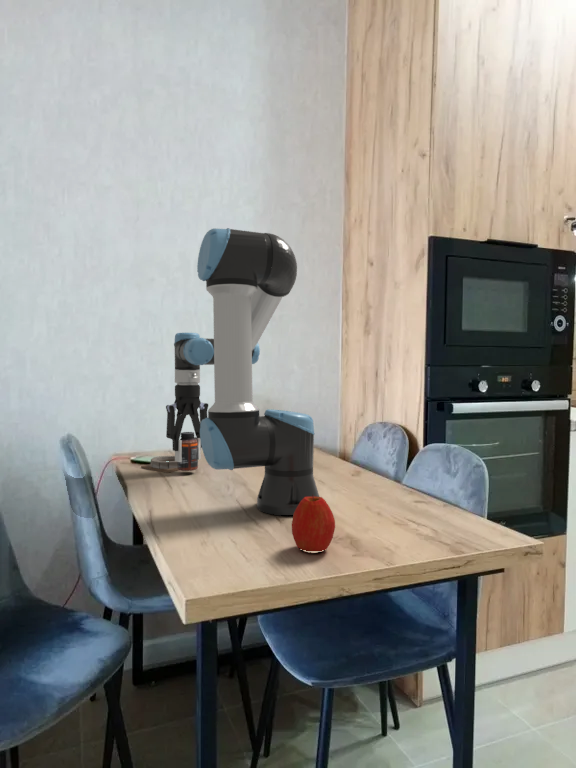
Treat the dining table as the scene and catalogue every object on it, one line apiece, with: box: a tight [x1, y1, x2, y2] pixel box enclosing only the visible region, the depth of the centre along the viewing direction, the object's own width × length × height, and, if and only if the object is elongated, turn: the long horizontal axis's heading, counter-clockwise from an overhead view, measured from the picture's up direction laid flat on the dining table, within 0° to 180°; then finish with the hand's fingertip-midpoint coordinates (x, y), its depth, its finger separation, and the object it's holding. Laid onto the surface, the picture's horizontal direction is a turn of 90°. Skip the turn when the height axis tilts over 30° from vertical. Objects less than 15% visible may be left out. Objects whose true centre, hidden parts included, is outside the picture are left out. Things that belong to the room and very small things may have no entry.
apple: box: [291, 496, 336, 551], centre depth 102 cm, size 8×8×11 cm
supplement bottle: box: [178, 431, 199, 472], centre depth 165 cm, size 6×6×11 cm
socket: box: [140, 455, 180, 474], centre depth 174 cm, size 12×12×3 cm
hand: (187, 460), depth 165 cm, fingers closed on supplement bottle, 6 cm apart
